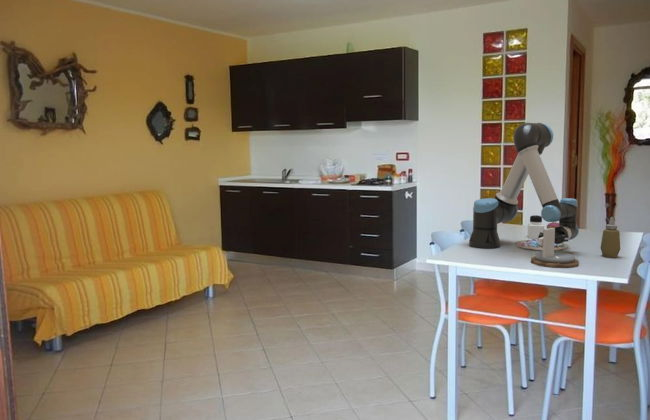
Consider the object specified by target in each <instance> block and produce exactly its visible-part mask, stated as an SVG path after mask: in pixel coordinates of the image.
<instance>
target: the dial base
mask: <svg viewBox="0 0 650 420" xmlns="http://www.w3.org/2000/svg"><path fill="white" fill-rule="evenodd" d="M530 262H531V264H534V265H536V266H539V267H546V268H551V269H553V268H554V269H570V268H571V269H572V268H576V267H577V268H578V266H579V264H580V261H579V260H578V259H577V258H575V261H574V262H570V263H552V262H544V261H540V260H537V259H535V255H533V256H531V258H530Z"/></svg>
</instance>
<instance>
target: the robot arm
mask: <svg viewBox="0 0 650 420" xmlns="http://www.w3.org/2000/svg"><path fill="white" fill-rule="evenodd" d="M512 138H513V139H512V140H513V145H514V148H515V151H516V153H517V155H516V158H515V160H514V161H513V165H512V166H511V169H510V171H509V173H508V175H507V178H506V180H505V181H504V184H503V185H502V188H501V190H500V191H499V192H496V194H495V196H494V197H492V198H491V197H490V198H489V197H488V198H487V197H486V198H479V199H476V200H475V201H474V202H473V207H472V210H473V211H472V212H473V215H472V217H473V219H472V232H471V235H470V238H469V241H468V246H469V247H473V248H477V249H478V248H479V249H497V248H500V247H501V240H500V236H499V232H498V224H500V223H508V222H510V221H512V220H514V219H515V218H516V217H517V214H518V211H519V210H518V209H519V208H518V204H519V200H518V196H519V195H520V192H522V191H521V190H522V189H523V186H524V185H525V182H526V180H527V178H528V176H529V178H530V181H531V183H532V185H533V188H534V190H535V192H536V195H537V197H538V200H539V201H540V205H541V207H542V209H541V211H540V216H541V217H542V220H544V221H545V222H548V223H552V222H556V223H559V226H558V227H555V242H554V245H559V244H564V243H565V242H569V241H570V240H573V239H576V237H578V235H579V231H580V229H579V226H578V225H577V222H578V221H577V219H578V218H577V217H578V208H579V207H578V199H576V198H571V197H569V198H568V197H567V198H566V197H564V198H561V199H560V200H559V198H558V195H557V194H556V191H555V189H554V187H553V184H552V181H551V180H550V177H549V175H548V172H547V169H546V167H545V164H544V163H543V162H544V161H543V160H542V157H541V155H542V154H543V152H544V150H545V148H547V147H549V146H550V145H551V144H552V142H553V140H554V131H553V130H552V128H551V127H550V126H549V125H548V124H546V123H542V122H524V123H521V124H519V125H518V126H517V127H516V129H515V130H514V132H513V136H512ZM543 235H544V233H542V232H540V234H539V236H538V240H537V241H538V242H537V245H538V246H543Z"/></svg>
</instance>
